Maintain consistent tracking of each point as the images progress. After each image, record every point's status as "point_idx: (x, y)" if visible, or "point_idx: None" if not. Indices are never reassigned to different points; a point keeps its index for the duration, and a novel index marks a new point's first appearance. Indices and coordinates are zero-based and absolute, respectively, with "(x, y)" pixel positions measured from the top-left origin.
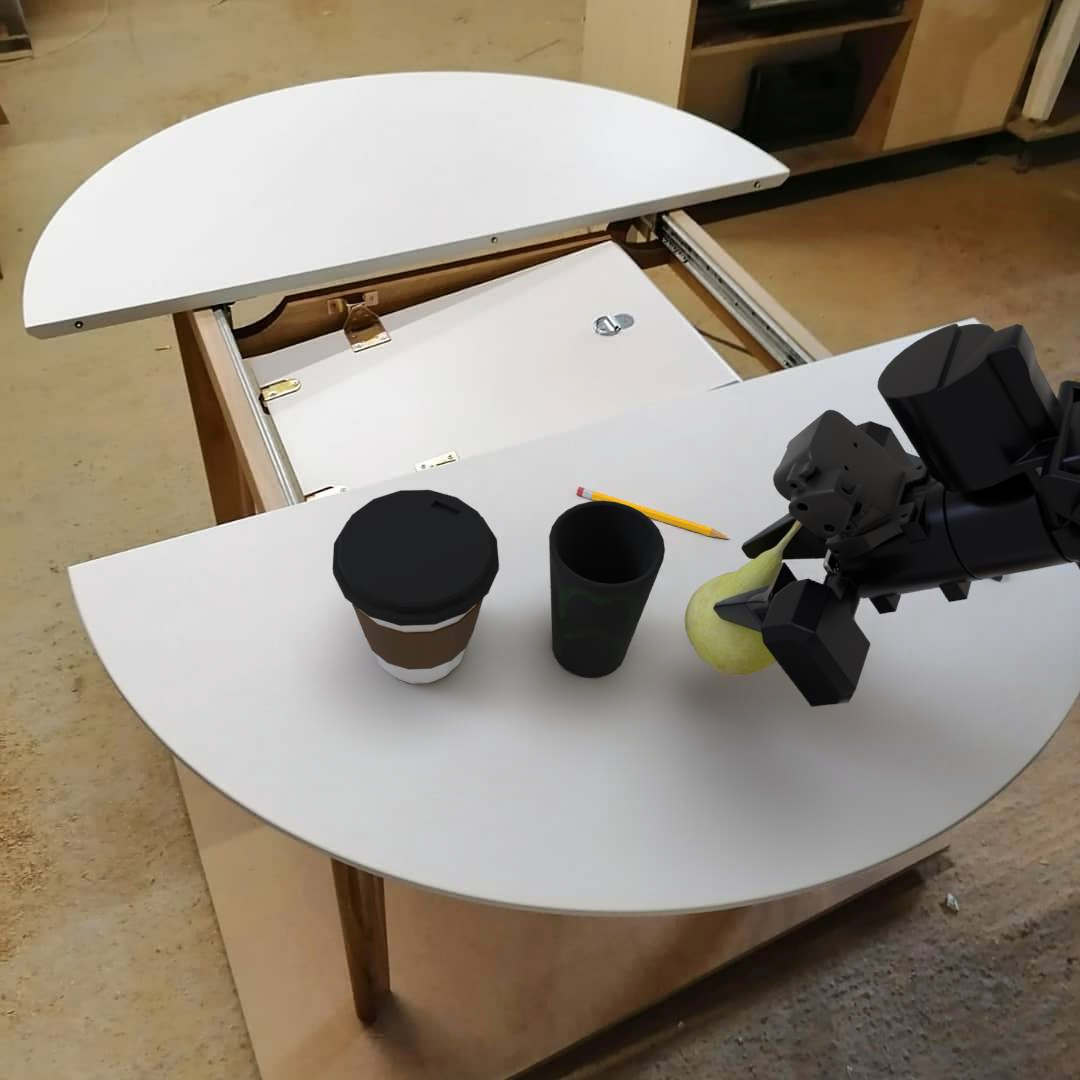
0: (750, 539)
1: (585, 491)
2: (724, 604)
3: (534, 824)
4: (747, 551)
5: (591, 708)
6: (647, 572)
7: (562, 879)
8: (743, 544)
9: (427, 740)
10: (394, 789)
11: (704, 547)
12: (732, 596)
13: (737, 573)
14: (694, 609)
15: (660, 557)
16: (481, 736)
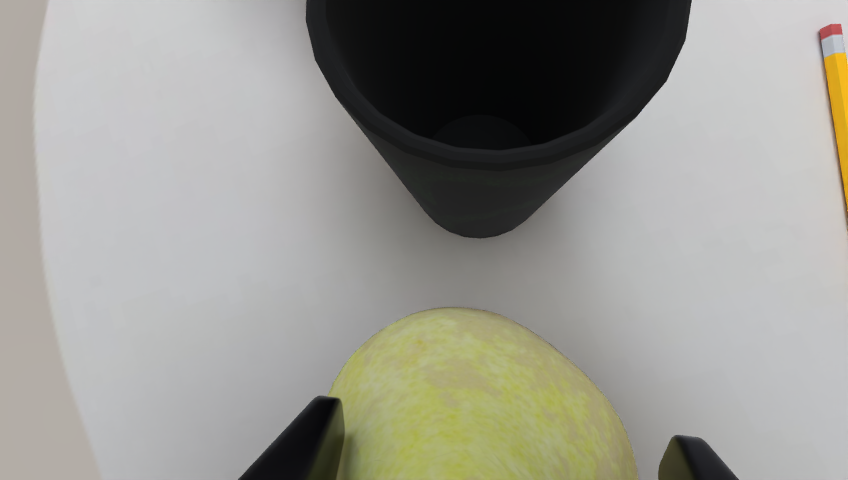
0: (720, 474)
1: (834, 38)
2: (276, 445)
3: (143, 208)
4: (670, 465)
5: (362, 219)
6: (425, 139)
7: (75, 274)
8: (690, 442)
9: (223, 20)
10: (140, 15)
11: (825, 307)
12: (303, 475)
13: (459, 465)
14: (400, 330)
15: (505, 157)
16: (254, 84)
